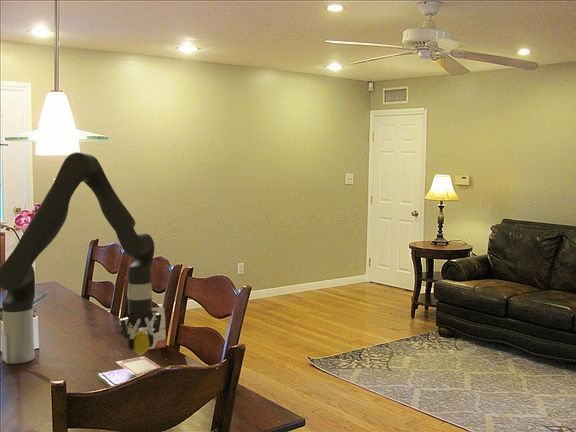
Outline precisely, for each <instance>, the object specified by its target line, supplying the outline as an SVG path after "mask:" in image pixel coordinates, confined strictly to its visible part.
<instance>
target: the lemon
mask: <svg viewBox="0 0 576 432" xmlns="http://www.w3.org/2000/svg"><path fill="white" fill-rule="evenodd" d="M133 339H134V350H132V351H133V352H134V353H135V354H136V355H139V357H142V355H144V354H146V353H147V351H148V350H149V349H148V348H149V338H148V336H147V334H145V333H144V332H142V331H139V330H138V332H135V334H134V337H133Z"/></svg>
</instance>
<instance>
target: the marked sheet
mask: <svg viewBox="0 0 576 432" xmlns="http://www.w3.org/2000/svg"><path fill="white" fill-rule="evenodd" d="M115 363H116V364H117V365H118V366H120V368H121V369H124V368H125V369H126V368H127V369H128V370H129V371H131V372H132V373H133V374H135V375H136V376H138V375H140V374H142V373H145V372H148V371H150V370H153V369H156V368H160V367H161V366H160V365H158V364H157V363H155V362H154V361H152V360H151V359H149V358H148V357H146V356H139V357H138V356H137V357H134V358H129V359H124V360H118V361H115Z"/></svg>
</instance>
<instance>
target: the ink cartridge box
mask: <svg viewBox="0 0 576 432" xmlns="http://www.w3.org/2000/svg"><path fill="white" fill-rule="evenodd" d="M153 311H154V312H153ZM152 313H153V314H156V313H158V314H160V315H161V322H160V328H159V332H158V333H155V334H154V335H153V345H152V347H149V348H148V350H153V349H160V348H161V349H162V348H166V347H167V344H166V343H167V341H166V339H167V338H166V337H167V336H166V335H167V334H166V315H165V314H166V313H165V307H164V306H160V307H152ZM153 323H154V320H153V318H152V319H151V321H150V324H151V326H152V329H153ZM139 331H142V332H144V333H145V334H148V333H147V330H146V328H143V327H141V328H139V329H138V332H139Z"/></svg>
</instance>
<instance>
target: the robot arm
mask: <svg viewBox="0 0 576 432" xmlns="http://www.w3.org/2000/svg"><path fill="white" fill-rule="evenodd" d="M52 183H53V184H52V185H51V187H50V189H49V190H48V192H47V193H46V195H45V197H44V199H43V200H42V201H41V203H40V205H39V207H38V208H37V210H36V211H35V213H34V214H33V216H32V218H31V220H30V222H29V223H28V225H27V227H26V228H25V230H24V232H23V233H22V235H21V237H20V239H19V241H18V242H17V245H16V246H15V248H14V249H13V250H12V252H11V253H10V254H9V256H8V257H7V258H6V260H5V261H4V262H3V264H2V265H1V266H0V288H1V289H2V290H4V291H6V295H5V298H4V300H3V301H2V305H1V307H2V308H1V309H2V332H1V347H2V348H1V349H2V351H1V352H2V360H3V361H4V362H5V364H6V365H10V364H11V365H13V364H15V365H17V364H25V363H28V362H30V361H33V360H35V339H34V338H35V335H34V307H33V306H34V305H33V304H34V300H35V297H36V296H35V295H36V273H35V269H34V267H33V265H34V263H35V261H36V259H37V258H38V257H39V256H40V254H41V253H42V252H43V251H45V249H47V248H48V246H49V245H50V244H51V243H52V242H53V241H54V239H55V238H56V237H57V236H58V234H59V232H60V231H61V230H62V227H63V226H64V224H65V222H66V221H67V217H68V212H69V206H70V202H71V199H72V196H73V194H74V193H75V191H76V190H77V188H78V187H79V186H80V184H81V183H85V185H86V186H87V187H89V189H90V190H91V191H92V192H93V194H94V195H95V197H96V199H97V201H98V204H99V207H100V210H101V212H102V214H103V216H104V218H105V220H106V221H107V222H108V224H109V225H110V226H111V228H112V229H113V230H114V231H115V234H116V237H117V239H118V242H119V245H120V247H121V248H122V250H123V252H124V253H125V254H126V255H127V256H129V257H130V258H133V262H132V263H131V264H130V265H129V266H128V270H127V273H128V274H127V275H128V276H127V281H128V284H127V285H128V286H127V315H126V317H124V318H118V320H117V321H118V325H119V330H120V335H121V337H123V338H124V339H127V341H126V342H127V345H126V346H127V348H128V349H129V350H130V351H133V350H134V339H133V337H134V335H135V334H136V333H137V330H139V328H141V327H143V328H146V330H147V333H148V334H147V336H148V338H149V347H152V345H153V335H154V334H155V333H158V332H159V328H160V322H161V315H160V314H158V313H157V312H155V313H156V314H153V313H154V312H153V311H152V308H153V287H152V271H151V269H152V265H153V261H154V260H153V259H154V255H155V242H154V239H153V237H152V236H151V235H150V234H148V233H146V232H145V233H144V232H143V233H142V232H141V233H138V234H137V232H136V230H135V227H136V221H135V218H134V217H133V216H132V214H131V213H130V212H129V210H128V209H127V208H126V207H125V205H124V203H123V201H121V199H120V198H119V197H118V195H117V192H115V190H114V188H113V186H112V184H111V183H110V181H109V179H108V177H107V175H106V173H105V172H104V169H103V168H102V165H101V164H100V162H99V160H98V159H97V157H95V156H94V155H92V154H90V153H85V152H81V151H80V152H79V151H75V152H72V153H70V154H69V155H67V156H66V158H65V159H64V160H63V162H62V164H61V166H60V168H59V171H58V173H57V175H56V176H55V180H54V181H53V182H52ZM152 318H153V320H154V323H153V329H152V326H151V324H150V321H151V319H152ZM128 322H129V326H128V329H127V325H128Z"/></svg>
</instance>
